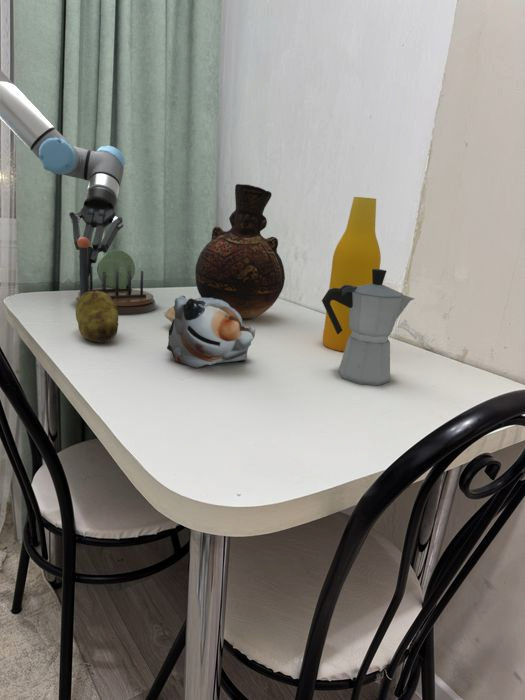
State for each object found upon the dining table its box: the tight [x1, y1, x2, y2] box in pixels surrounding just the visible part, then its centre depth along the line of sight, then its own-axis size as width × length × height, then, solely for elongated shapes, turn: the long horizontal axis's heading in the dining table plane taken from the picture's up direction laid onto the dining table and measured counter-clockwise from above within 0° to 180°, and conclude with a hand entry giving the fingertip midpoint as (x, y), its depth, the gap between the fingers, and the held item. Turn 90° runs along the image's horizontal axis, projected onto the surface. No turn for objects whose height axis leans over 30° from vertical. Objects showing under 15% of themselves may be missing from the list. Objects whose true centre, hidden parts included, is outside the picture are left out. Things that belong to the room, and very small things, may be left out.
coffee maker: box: [321, 268, 415, 386], centre depth 82 cm, size 15×9×18 cm, turn 92°
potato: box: [75, 291, 119, 344], centre depth 93 cm, size 8×13×8 cm, turn 9°
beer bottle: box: [322, 196, 382, 353], centre depth 98 cm, size 9×9×29 cm
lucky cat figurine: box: [166, 294, 256, 369], centre depth 83 cm, size 15×12×14 cm
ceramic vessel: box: [194, 183, 286, 319], centre depth 116 cm, size 21×18×30 cm
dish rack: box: [77, 236, 155, 306], centre depth 117 cm, size 18×17×14 cm
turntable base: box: [75, 296, 156, 316], centre depth 120 cm, size 18×18×2 cm
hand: (84, 272), depth 116 cm, fingers closed
